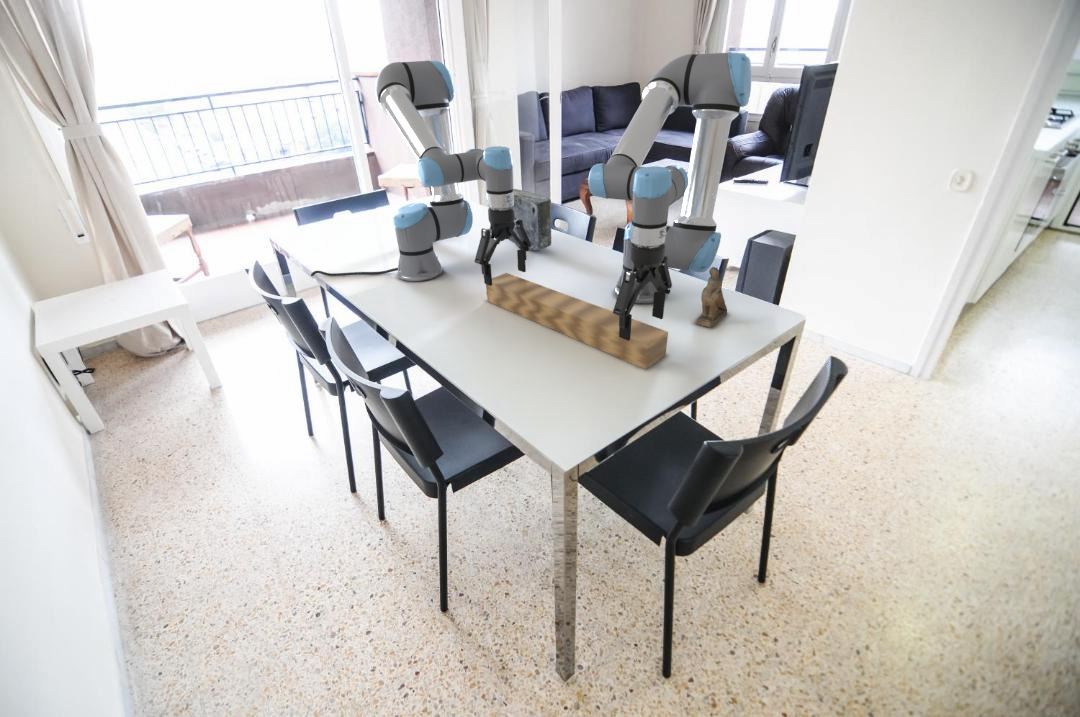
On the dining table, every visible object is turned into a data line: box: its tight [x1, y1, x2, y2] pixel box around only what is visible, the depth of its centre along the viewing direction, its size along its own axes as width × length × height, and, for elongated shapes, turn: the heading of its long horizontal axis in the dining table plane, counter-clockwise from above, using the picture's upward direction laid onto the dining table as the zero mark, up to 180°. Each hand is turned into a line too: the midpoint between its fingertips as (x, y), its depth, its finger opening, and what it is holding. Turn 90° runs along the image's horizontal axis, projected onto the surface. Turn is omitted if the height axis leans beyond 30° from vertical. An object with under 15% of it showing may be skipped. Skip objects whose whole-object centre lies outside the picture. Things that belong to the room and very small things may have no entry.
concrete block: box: [508, 188, 552, 251], centre depth 192 cm, size 27×9×20 cm, turn 36°
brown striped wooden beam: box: [485, 272, 669, 370], centre depth 137 cm, size 59×9×7 cm, turn 45°
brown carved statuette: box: [695, 266, 728, 328], centre depth 135 cm, size 12×6×18 cm, turn 136°
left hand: (505, 277), depth 150 cm, fingers open, 13 cm apart
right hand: (641, 327), depth 120 cm, fingers open, 13 cm apart
